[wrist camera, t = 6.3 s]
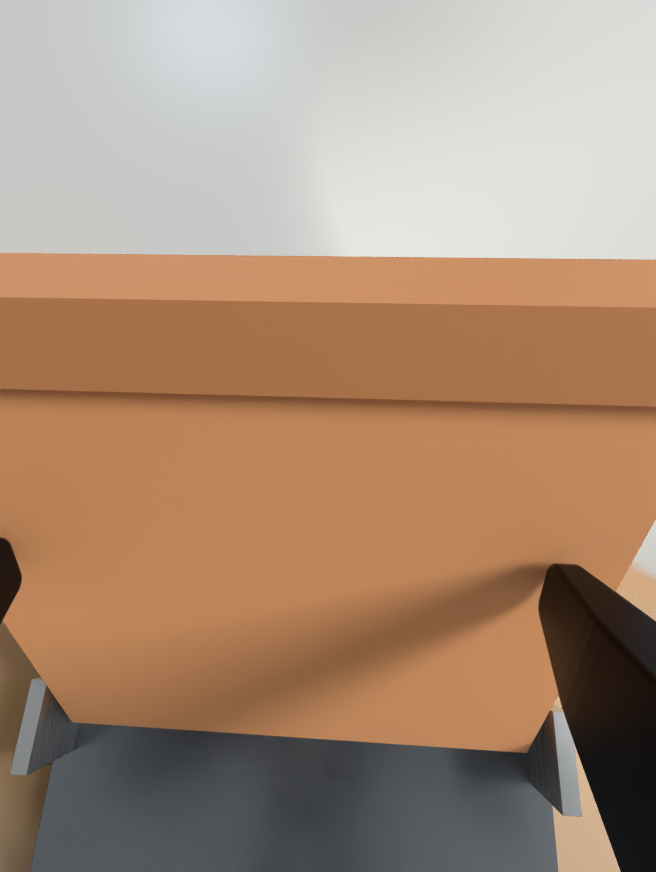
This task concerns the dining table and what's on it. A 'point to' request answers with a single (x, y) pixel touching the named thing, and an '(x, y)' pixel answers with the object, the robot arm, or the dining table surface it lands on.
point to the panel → (288, 800)
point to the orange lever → (317, 483)
